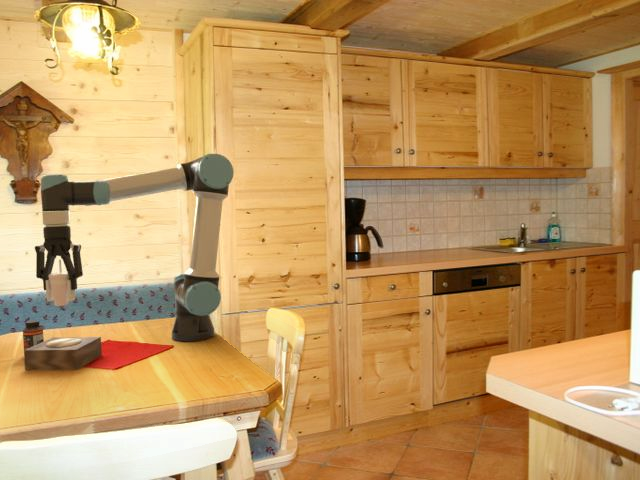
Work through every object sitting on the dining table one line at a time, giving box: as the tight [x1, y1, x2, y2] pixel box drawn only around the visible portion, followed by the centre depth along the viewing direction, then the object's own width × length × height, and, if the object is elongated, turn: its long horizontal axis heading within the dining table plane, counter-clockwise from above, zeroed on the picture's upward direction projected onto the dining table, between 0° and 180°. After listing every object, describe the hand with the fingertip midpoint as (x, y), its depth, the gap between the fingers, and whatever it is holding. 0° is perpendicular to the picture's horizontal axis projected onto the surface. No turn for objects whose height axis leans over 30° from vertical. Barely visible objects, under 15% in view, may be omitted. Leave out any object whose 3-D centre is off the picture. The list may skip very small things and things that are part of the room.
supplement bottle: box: [22, 319, 45, 351], centre depth 186 cm, size 6×6×11 cm
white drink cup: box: [48, 259, 69, 307], centre depth 175 cm, size 6×6×14 cm
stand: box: [23, 336, 103, 371], centre depth 176 cm, size 16×16×6 cm
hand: (61, 300), depth 175 cm, fingers closed on white drink cup, 6 cm apart
